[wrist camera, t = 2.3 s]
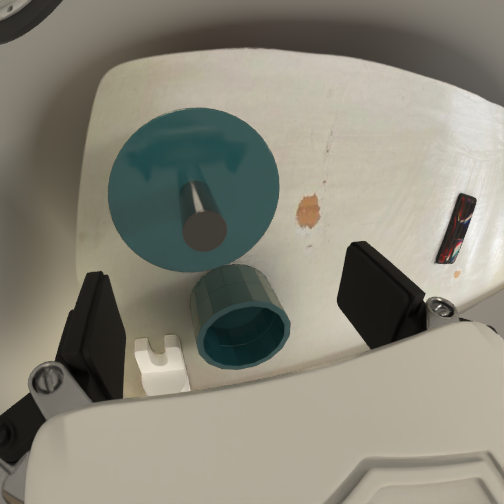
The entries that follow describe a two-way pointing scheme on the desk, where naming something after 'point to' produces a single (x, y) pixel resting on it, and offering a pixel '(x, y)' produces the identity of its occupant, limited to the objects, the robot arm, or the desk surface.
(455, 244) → the smartphone
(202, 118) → the lid
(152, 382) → the slotted bracket
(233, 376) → the desk surface
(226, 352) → the pot
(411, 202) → the desk surface
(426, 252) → the desk surface
